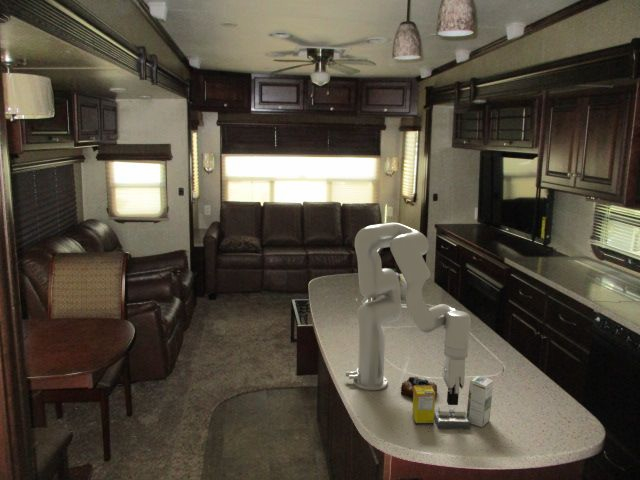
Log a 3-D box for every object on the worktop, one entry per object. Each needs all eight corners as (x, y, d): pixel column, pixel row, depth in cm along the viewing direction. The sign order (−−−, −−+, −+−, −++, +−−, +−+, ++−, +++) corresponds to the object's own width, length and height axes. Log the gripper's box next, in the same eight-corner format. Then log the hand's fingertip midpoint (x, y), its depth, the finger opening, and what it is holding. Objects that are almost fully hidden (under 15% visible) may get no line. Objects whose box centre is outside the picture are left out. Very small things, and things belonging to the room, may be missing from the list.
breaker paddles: (438, 415, 178) (439, 411, 177) (437, 410, 179) (438, 406, 178) (464, 415, 178) (465, 411, 177) (463, 411, 179) (464, 407, 178)
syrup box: (473, 415, 183) (476, 374, 180) (490, 421, 180) (493, 379, 177) (465, 421, 179) (468, 380, 176) (483, 428, 175) (486, 386, 172)
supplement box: (429, 415, 183) (431, 385, 180) (433, 425, 177) (435, 393, 175) (411, 415, 182) (413, 385, 180) (415, 425, 177) (417, 393, 174)
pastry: (412, 384, 206) (412, 369, 204) (441, 393, 198) (442, 378, 197) (396, 394, 197) (397, 379, 196) (427, 405, 190) (428, 389, 189)
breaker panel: (437, 428, 175) (438, 420, 174) (433, 415, 182) (433, 408, 182) (469, 429, 174) (470, 421, 174) (463, 416, 182) (464, 409, 182)
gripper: (439, 340, 181) (436, 392, 185) (449, 359, 166) (445, 415, 170) (462, 341, 181) (458, 393, 184) (474, 360, 166) (469, 416, 170)
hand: (452, 403), depth 177 cm, fingers closed
